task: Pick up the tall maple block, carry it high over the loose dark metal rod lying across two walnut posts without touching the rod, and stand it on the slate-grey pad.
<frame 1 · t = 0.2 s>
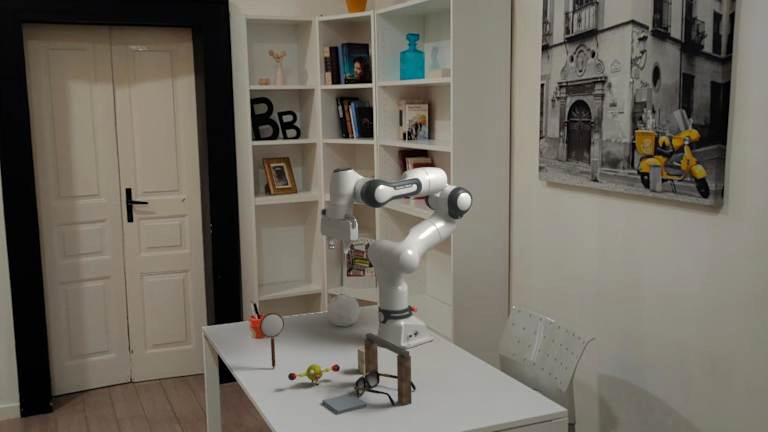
hand: (337, 251, 270), 39 cm above the table, tool pointing down, fingers open, 8 cm apart
geodesic sphere: (343, 325, 312), on the table
rod stand: (387, 392, 239), on the table
rod: (386, 347, 237), point 15 cm above the table, touching rod stand
block: (366, 371, 258), on the table
pad: (344, 404, 230), on the table
magnifying glass: (273, 369, 263), on the table
sunglasses: (384, 394, 238), on the table, touching rod stand
toy figure: (315, 385, 247), on the table
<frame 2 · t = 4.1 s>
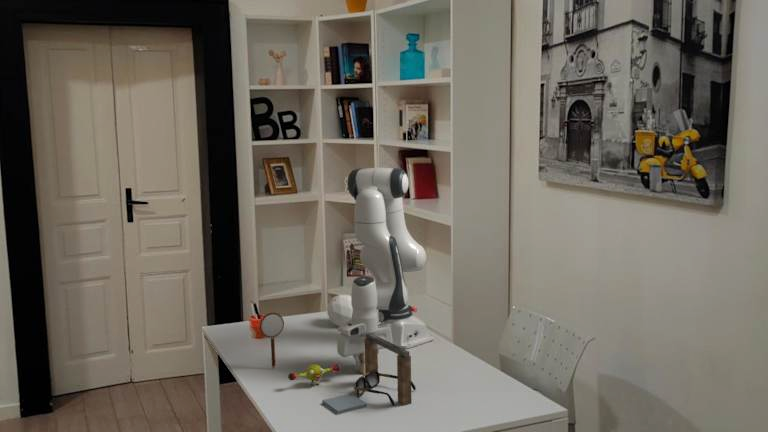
hand: (365, 363, 257), 3 cm above the table, tool pointing down, fingers closed on block, 4 cm apart
block: (366, 371, 258), on the table, touching gripper
everything else where it was.
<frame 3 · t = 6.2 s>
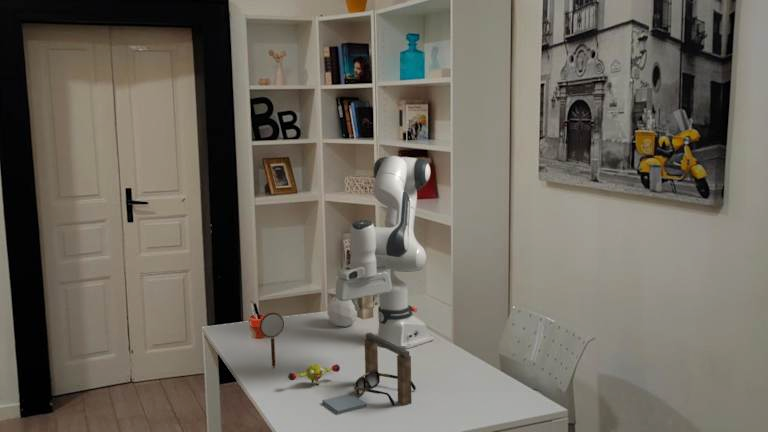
hand: (364, 309, 255), 22 cm above the table, tool pointing down, fingers closed on block, 4 cm apart
block: (365, 317, 255), point 19 cm above the table, touching gripper
everything else where it was.
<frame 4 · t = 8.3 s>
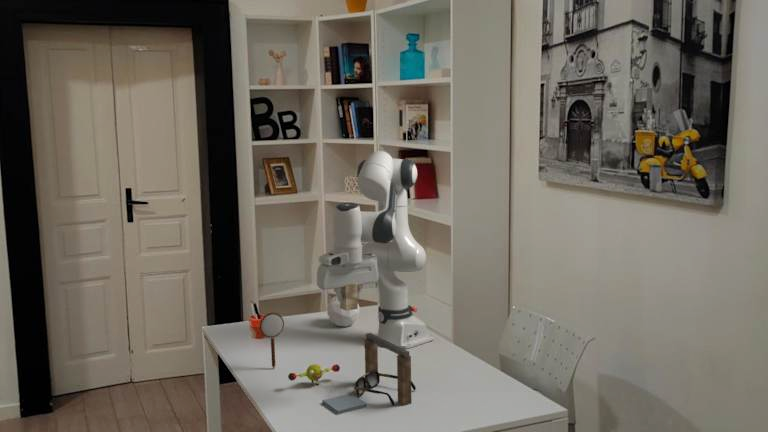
hand: (348, 300, 233), 31 cm above the table, tool pointing down, fingers closed on block, 4 cm apart
block: (348, 308, 234), point 28 cm above the table, touching gripper
everything else where it was.
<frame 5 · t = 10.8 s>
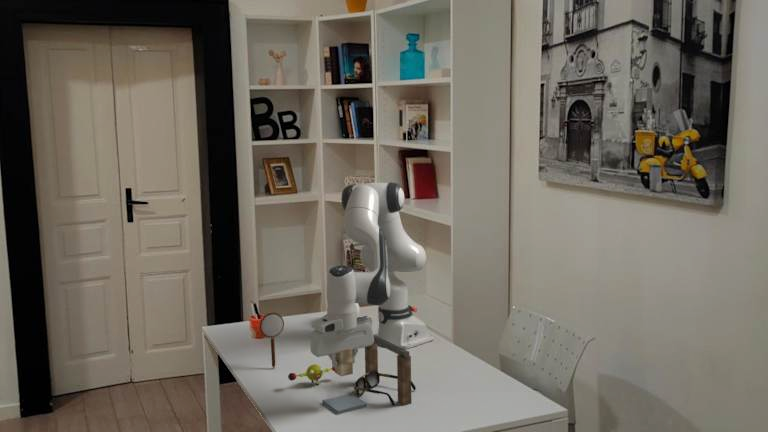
hand: (343, 364, 228), 13 cm above the table, tool pointing down, fingers closed on block, 4 cm apart
block: (343, 373, 228), point 10 cm above the table, touching gripper
everything else where it was.
when the fingers open (5 cm above the table, at t = 12.8 s): block drops 1 cm, resting on pad.
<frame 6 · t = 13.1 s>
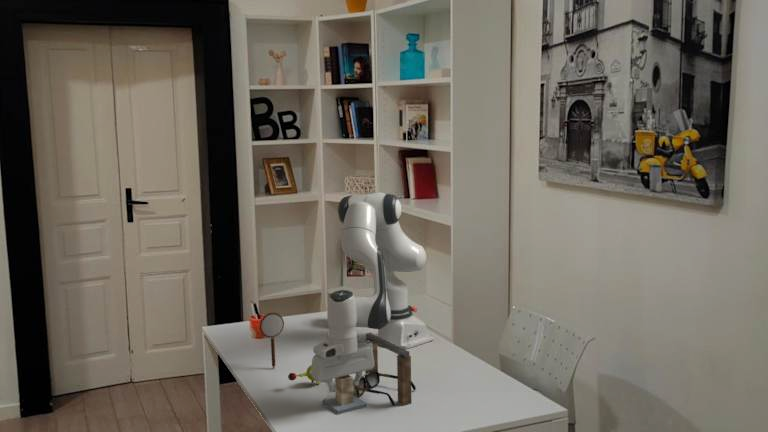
hand: (344, 388, 229), 5 cm above the table, tool pointing down, fingers open, 7 cm apart
block: (344, 401, 230), point 1 cm above the table, touching pad
everything else where it was.
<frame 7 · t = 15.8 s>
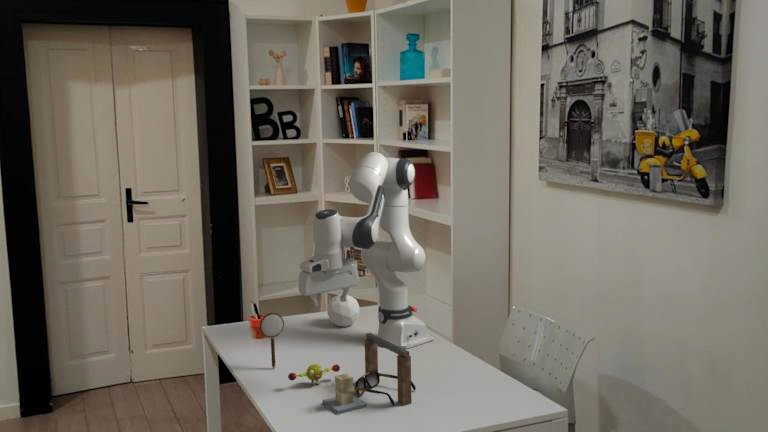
hand: (330, 304, 239), 28 cm above the table, tool pointing down, fingers open, 8 cm apart
nothing on the table moved.
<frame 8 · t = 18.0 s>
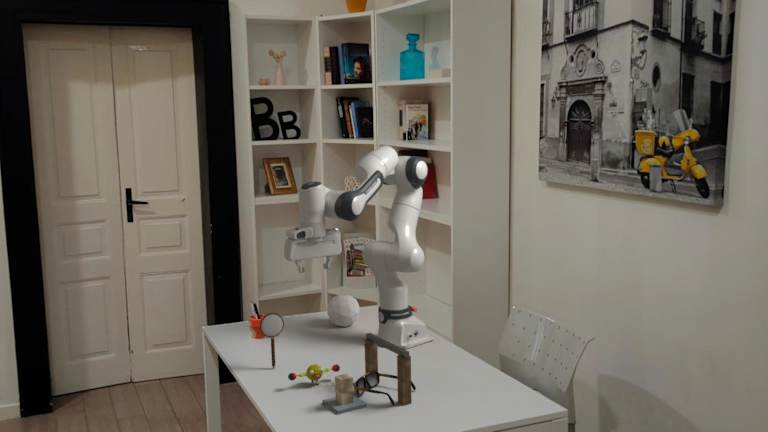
hand: (314, 270, 255), 35 cm above the table, tool pointing down, fingers open, 8 cm apart
nothing on the table moved.
at the end: block inside the target area on the pad (0.0 cm from its centre), point 1.0 cm above the pad's base; block tilted 0°; rod moved 0.0 cm from its start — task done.
